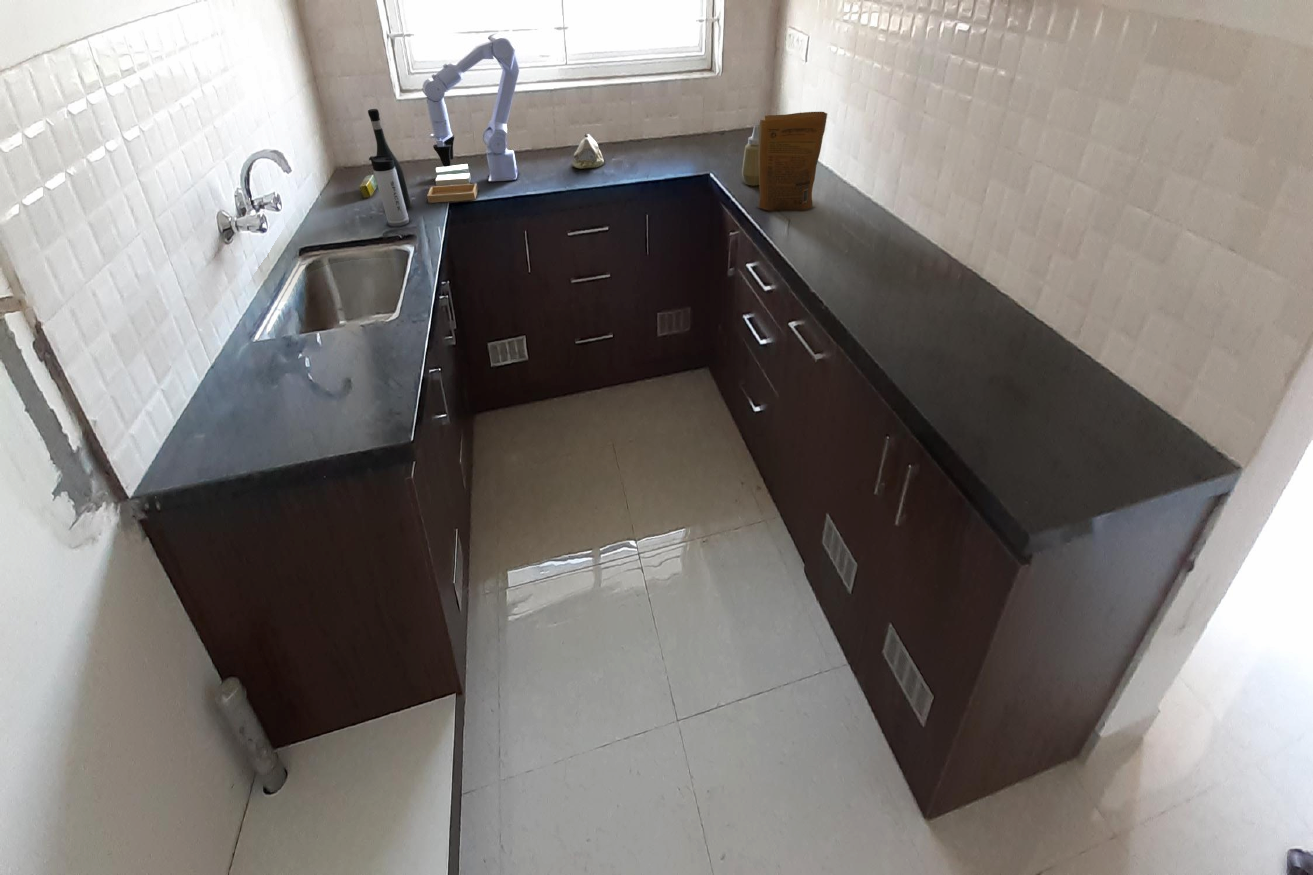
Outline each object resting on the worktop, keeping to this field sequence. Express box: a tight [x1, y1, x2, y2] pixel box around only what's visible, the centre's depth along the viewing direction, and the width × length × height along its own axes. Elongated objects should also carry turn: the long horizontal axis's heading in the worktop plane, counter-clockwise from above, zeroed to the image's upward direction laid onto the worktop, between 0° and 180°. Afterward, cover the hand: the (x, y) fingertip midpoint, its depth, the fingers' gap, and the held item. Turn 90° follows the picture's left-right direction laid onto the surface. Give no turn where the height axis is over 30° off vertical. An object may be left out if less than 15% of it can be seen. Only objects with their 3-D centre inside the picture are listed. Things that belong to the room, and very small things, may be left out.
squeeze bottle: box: [741, 125, 759, 187], centre depth 231 cm, size 8×8×18 cm
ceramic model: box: [572, 133, 605, 169], centre depth 256 cm, size 14×11×10 cm
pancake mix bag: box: [758, 111, 828, 212], centre depth 209 cm, size 7×19×28 cm, turn 86°
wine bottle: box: [367, 108, 412, 211], centre depth 220 cm, size 8×8×30 cm
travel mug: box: [368, 155, 410, 228], centre depth 214 cm, size 6×7×20 cm
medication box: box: [358, 173, 378, 199], centre depth 242 cm, size 12×3×4 cm, turn 7°
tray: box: [426, 183, 479, 204], centre depth 236 cm, size 15×9×2 cm, turn 95°
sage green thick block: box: [435, 163, 470, 177], centre depth 251 cm, size 11×5×3 cm, turn 105°
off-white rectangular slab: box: [435, 172, 472, 186], centre depth 244 cm, size 11×5×3 cm, turn 95°
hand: (448, 162), depth 240 cm, fingers open, 7 cm apart
